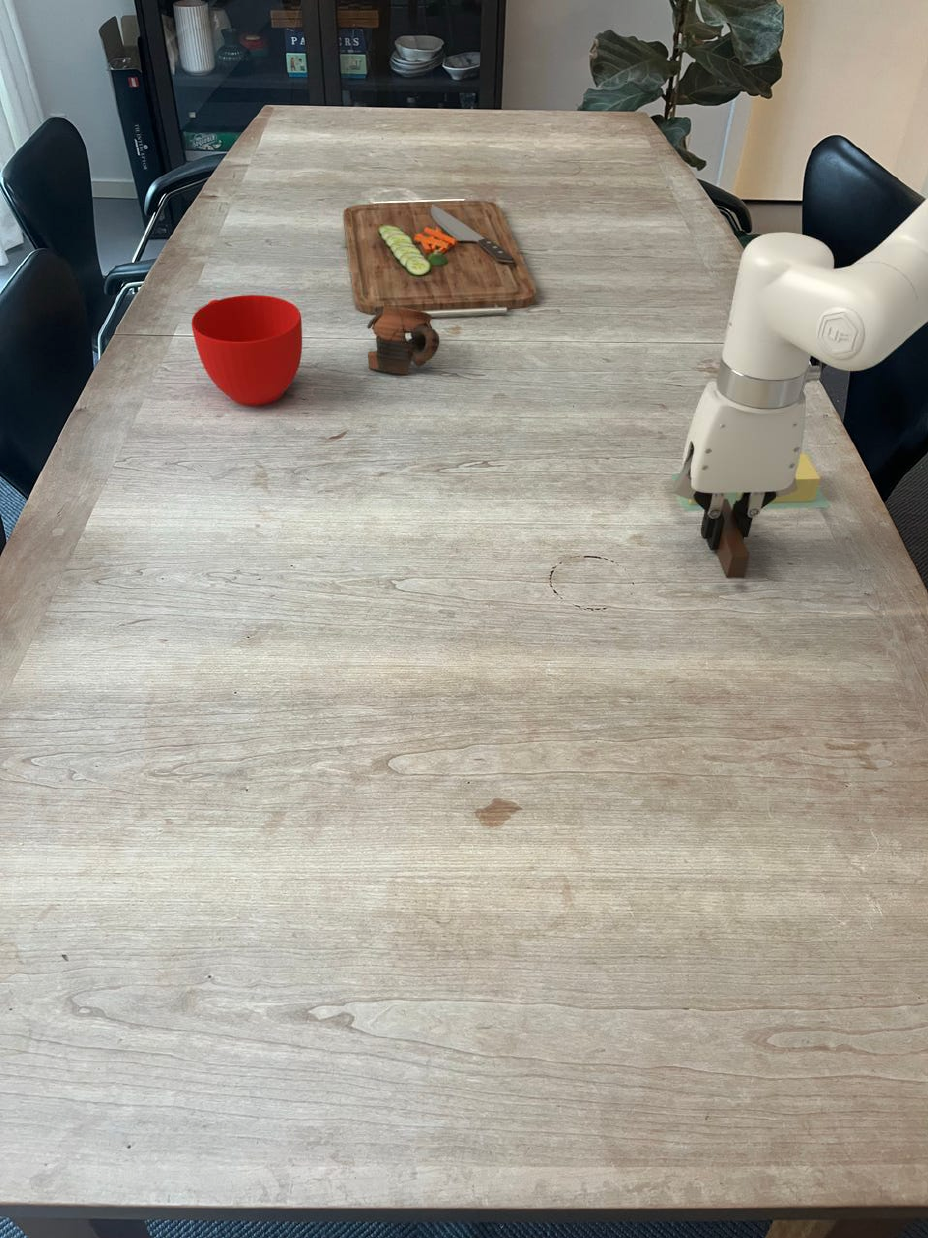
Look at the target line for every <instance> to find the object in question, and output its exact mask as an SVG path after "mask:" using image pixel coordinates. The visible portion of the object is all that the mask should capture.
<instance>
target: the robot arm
mask: <svg viewBox="0 0 928 1238" xmlns="http://www.w3.org/2000/svg"><path fill="white" fill-rule="evenodd" d="M927 323H928V197H927V198H926V199H925V200H924V201H923V202H922V203H921V204H920V205H919V206H917V208H916V209H915V210H914V211H913V212H912V213H911V214H910V215H909V216H908V217H907V218H906V219H905V220H904V221H903V222H902V223H901V224H899V226H898V227H897V228H896V229H894V230H893V232H891V234H889V236H888V237H886V238H885V240H883V241H882V242H881V243H880V244H878V245H877V247H875V248H874V249H873V250H871V251H870V252H868V253H867V254H866V255H864V256H863V257H861V258H859V259H858V260H857V261H856V262H854V263H852V264H851V265H848V266H844V267H838V268H835V258H834V254H833V252H832V250H831V249H830V248H829V247H828V245H827V244H825V243H824V242H823V241H821V240H819V239H816V238H814V237H812V236H808V235H805V234H801V233H795V232H784V231H783V232H770V233H765V234H762V235H759V236H757V237H755V238H754V239H752V240H751V241H750V242H748V244H747V245H746V247H744V250H743V252H742V254H741V257H740V262H739V267H738V270H737V276H736V281H735V285H734V291H733V296H732V301H731V306H730V311H729V316H728V321H727V326H726V329H725V336H724V340H723V346H722V351H721V356H720V362H719V366H718V372H717V377H716V380H713V381H709V382H708V383H707V384H706V385H705V387H704V390H703V392H702V394H701V396H700V398H699V401H698V404H697V406H696V409H695V411H694V414H693V416H692V417H693V418H692V420H691V423H690V427H689V430H688V434H687V438H686V441H685V445H684V450H683V453H682V460H681V462H682V467H683V469H682V468H681V471H680V472H679V473H678V474H679V476H678V477H677V479H676V480H675V482H674V483H673V482H672V487H673V490H674V492H675V494H676V495H677V496H678V497H679V496H681V497H684V498H687V499H690V500H691V499H693V500H695V501H696V502H697V503H698V504H699V505H700V506H701V507H702V508H703V509H704V510H703V516H702V521H701V526H700V536H701V538H702V540H705V541H706V543H707V546H708V548H709V550H710V551H711V552H712V551H715V550H717V549H718V545H719V541H720V537H721V532H722V530H723V526H724V517H723V515H722V506H723V501H724V497H725V493H736V492H742V493H741V497H740V499H741V500H739V501H735V504H733V508H732V512H733V515H734V517H735V520H736V522H737V525H738V528H739V530H740V532H741V535H742V537H743V540H744V541H745V539H747V538H748V537H749V535H750V532H751V529H752V528H751V527H752V523H753V519H754V518H757V517H758V516H759V515H760V513H761V510H763V509H762V508H763V507H765V506H766V505H767V504H769V503H770V502H772V501H773V500H774V499H775V498H776V497H781V496H784V495H787V494H790V493H793V492H795V491H796V490H797V482H796V477H795V475H796V471H797V467H798V463H799V459H800V454H801V453H802V449H803V442H804V435H805V423H806V409H807V397H806V393H805V392H804V391H805V387H806V385H807V384H808V383H811V382H816V381H817V382H818V381H819V380H820V378H821V367H820V365H812V364H810V360H811V357H813V358H815V359H816V360H817V361H820V362H821V363H823V364H825V365H828V366H830V367H832V368H834V369H838V370H842V371H848V372H856V371H857V372H858V371H864V370H867V369H870V368H872V367H875V366H876V365H878V364H880V363H881V362H883V361H884V360H885V359H886V358H887V357H889V356H890V355H891V354H892V353H893V352H895V350H897V349H898V348H899V347H900V346H901V345H903V344H904V342H906V340H908V339H909V338H910V337H911V336H912V335H913V334H915V332H917V331H918V330H919V329H920V328H922V327H923V326H924V325H925V324H927ZM715 552H716V551H715Z"/></svg>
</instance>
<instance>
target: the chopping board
mask: <svg viewBox="0 0 928 1238" xmlns="http://www.w3.org/2000/svg"><path fill="white" fill-rule="evenodd" d="M342 215H343V225H344V234H345V241H346V249H347V257H348V264H349V265H348V266H349V271H350V272H349V273H350V280H351V288H352V296H353V297H352V298H353V305H354V307H355V309H356V310H357V311H359V312H360V313H364V314H369V315H376V313H377V312H376V311H375V309H376V307H381V306H385V307H396V308H407V309H413V310H418V311H422V312H426V313H428V314H430V315H431V316H432V317H445V316H447V317H448V316H469V315H490V314H491V315H492V314H508V309H520V308H527V307H529V306H532V305H534V303H536V301H537V287H536V285H535V283H534V281H533V279H532V276H531V274H530V272H529V270H528V267H527V265H526V263H525V261H524V258H523V257H522V255H521V251H520V250H519V248H518V245H517V243H516V241H515V239H514V237H513V233H512V232H511V230H510V228H509V225H508V223H507V221H506V218H505V216H504V214H503V212H502V210H501V208H500V206H499V205H498V204H497V203H494V202H492V201H485V200H466V199H465V198H464V197H461V198H457V197H456V198H431V199H430V198H429V199H428V198H427V199H401V200H400V199H399V200H398V199H397V200H374V201H372V204H370V203H369V204H356V205H350V206H348V207H346V208H345V209H344V210H343V212H342Z"/></svg>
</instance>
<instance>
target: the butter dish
mask: <svg viewBox="0 0 928 1238" xmlns="http://www.w3.org/2000/svg"><path fill="white" fill-rule="evenodd" d="M679 474H680V473H673V474H672V473H671V474H670V475H669V476H670V478H671V481H672V484H673V483H674V482H675V480H676V479H677V477H678V476H679ZM819 486H820V485H819ZM819 486H818V489H817V493H816V496H815V499H814V502H777V503H769V504H767V505H766V506H765V507H763V508H762V509H761V510H772V509H777V510H778V509H807V508H808V509H809V508H811V509H813V508H831V505H830V503H829V502H828V500H827V499H826V497H825V495H824V493H823V492H822V490H821V487H819ZM678 498H679V501H680V503H681V506H682V508H683V511H684V512H695V511H696V512H697V511H701V512H702V511H705V510H704V509H703V508H702V507H701V506H700V505H699V504H692V505H691V504H690V502H689V499H687V498H684V497H681V496H678ZM724 499H728V501H729V504H730V506H731V509H732V508H733V504H735V501H739V500H740V499H739V497H738V494H737V492H736V493H725V497H724Z"/></svg>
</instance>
